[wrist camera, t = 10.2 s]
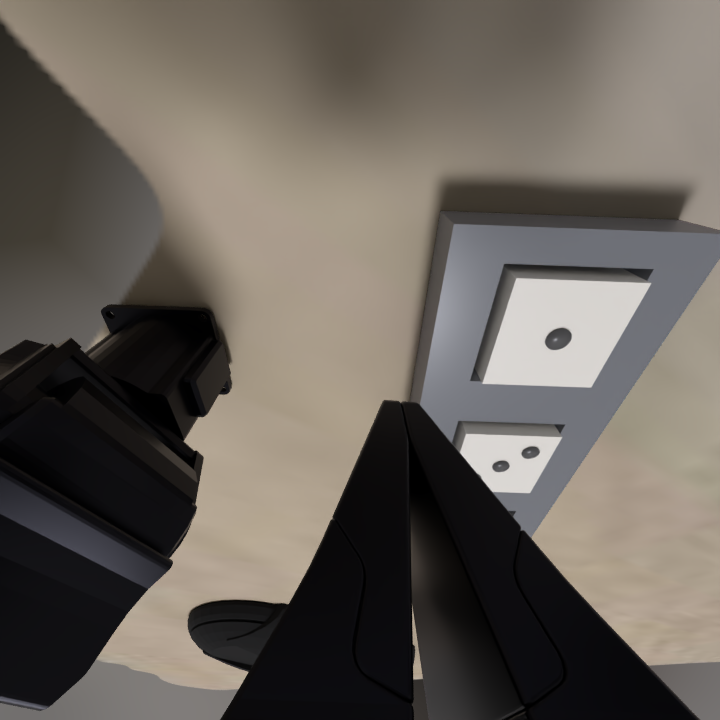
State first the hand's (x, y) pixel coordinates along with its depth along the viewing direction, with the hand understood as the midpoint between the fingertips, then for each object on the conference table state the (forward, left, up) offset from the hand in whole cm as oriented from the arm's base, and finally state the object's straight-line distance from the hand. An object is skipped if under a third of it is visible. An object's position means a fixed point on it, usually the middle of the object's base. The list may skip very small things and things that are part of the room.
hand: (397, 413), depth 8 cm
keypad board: (+9, -12, -12) cm, 19 cm away
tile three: (+9, -12, -11) cm, 19 cm away
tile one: (+9, -2, -11) cm, 14 cm away
